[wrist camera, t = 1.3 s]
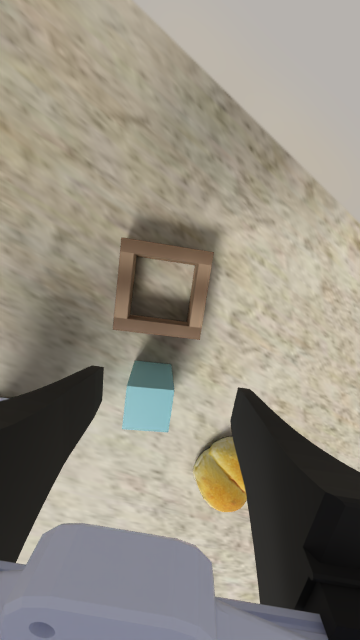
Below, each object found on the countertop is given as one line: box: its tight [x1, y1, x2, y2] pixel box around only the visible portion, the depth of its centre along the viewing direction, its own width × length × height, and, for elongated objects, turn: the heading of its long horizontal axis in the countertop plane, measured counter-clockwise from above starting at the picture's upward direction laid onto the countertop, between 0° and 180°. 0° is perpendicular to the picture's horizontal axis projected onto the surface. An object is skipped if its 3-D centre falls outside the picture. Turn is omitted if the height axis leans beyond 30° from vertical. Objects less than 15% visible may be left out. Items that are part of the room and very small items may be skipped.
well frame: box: [113, 238, 214, 340], centre depth 22 cm, size 8×8×2 cm
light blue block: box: [122, 361, 174, 432], centre depth 22 cm, size 4×4×6 cm
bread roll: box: [193, 437, 247, 512], centre depth 26 cm, size 8×9×4 cm
